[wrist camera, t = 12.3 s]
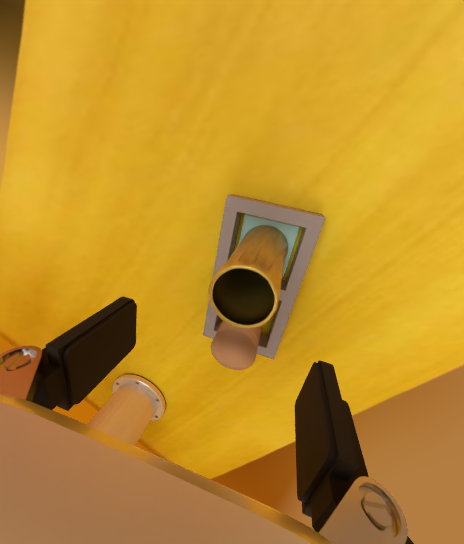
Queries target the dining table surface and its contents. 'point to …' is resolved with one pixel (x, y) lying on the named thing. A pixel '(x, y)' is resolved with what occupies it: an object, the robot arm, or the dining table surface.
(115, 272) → the dining table surface
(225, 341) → the walnut peg
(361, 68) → the dining table surface
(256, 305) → the vase
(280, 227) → the slot rack
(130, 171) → the dining table surface
